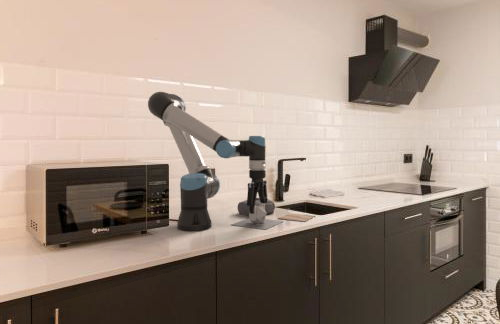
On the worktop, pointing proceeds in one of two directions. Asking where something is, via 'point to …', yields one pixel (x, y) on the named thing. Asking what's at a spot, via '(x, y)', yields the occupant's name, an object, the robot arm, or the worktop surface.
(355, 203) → the worktop surface
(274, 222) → the tile
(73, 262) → the worktop surface
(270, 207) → the grey rounded bag
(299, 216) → the walnut pad
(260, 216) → the die
